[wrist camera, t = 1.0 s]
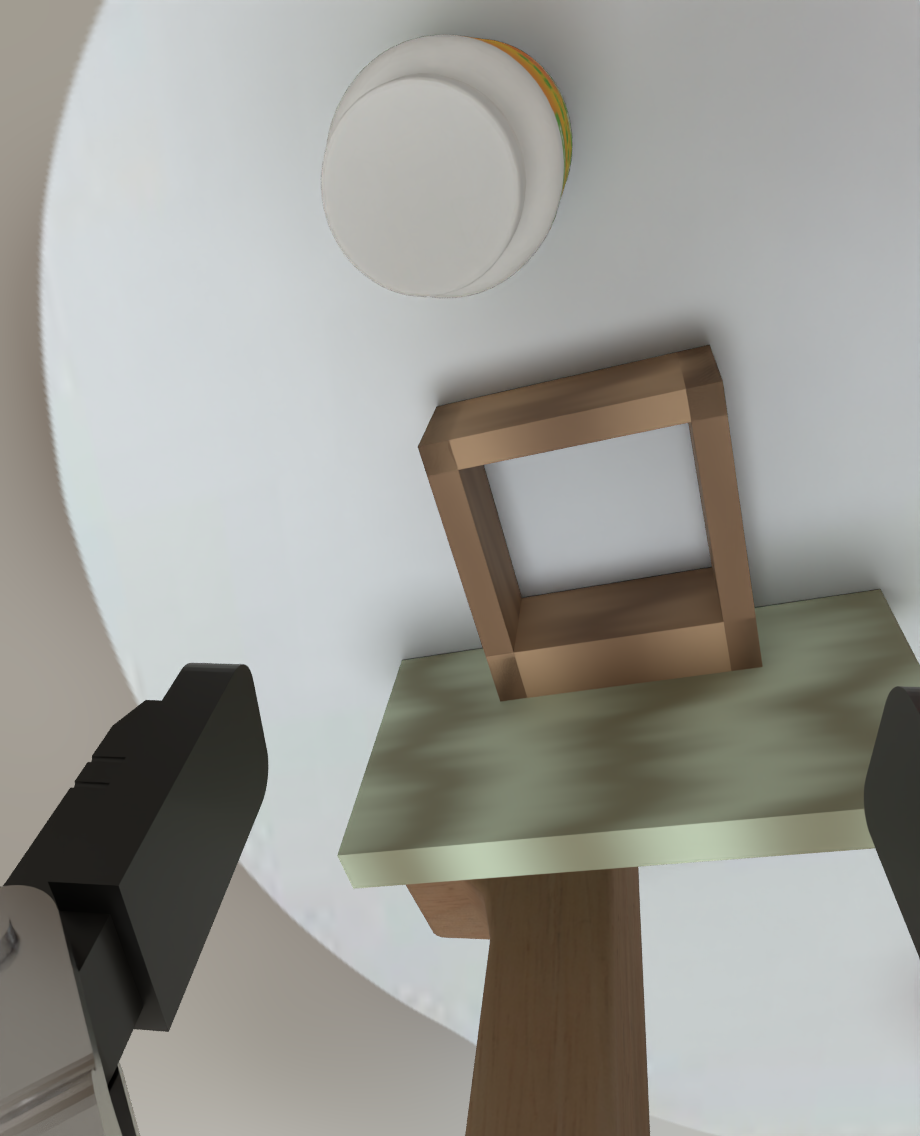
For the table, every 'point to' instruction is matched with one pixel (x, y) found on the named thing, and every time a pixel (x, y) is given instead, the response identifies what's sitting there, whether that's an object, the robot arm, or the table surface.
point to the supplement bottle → (446, 165)
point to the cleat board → (619, 677)
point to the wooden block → (553, 1000)
